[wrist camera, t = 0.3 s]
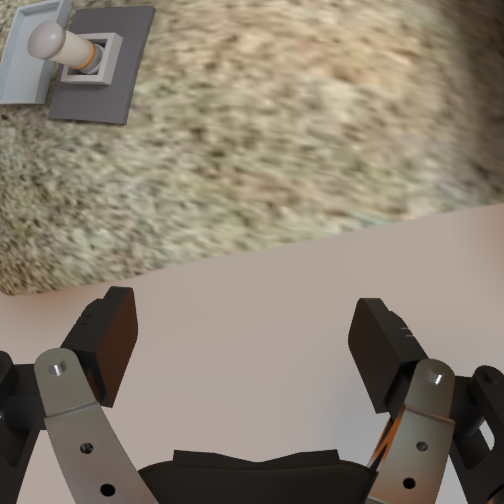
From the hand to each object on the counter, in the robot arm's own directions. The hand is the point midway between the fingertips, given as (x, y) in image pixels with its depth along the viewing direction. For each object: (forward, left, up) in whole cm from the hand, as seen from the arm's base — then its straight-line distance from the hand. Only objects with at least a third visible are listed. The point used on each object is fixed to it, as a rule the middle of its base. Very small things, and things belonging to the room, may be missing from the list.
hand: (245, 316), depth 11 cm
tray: (-16, -37, -28) cm, 49 cm away
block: (-14, -24, -28) cm, 40 cm away
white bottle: (-14, -24, -27) cm, 39 cm away
